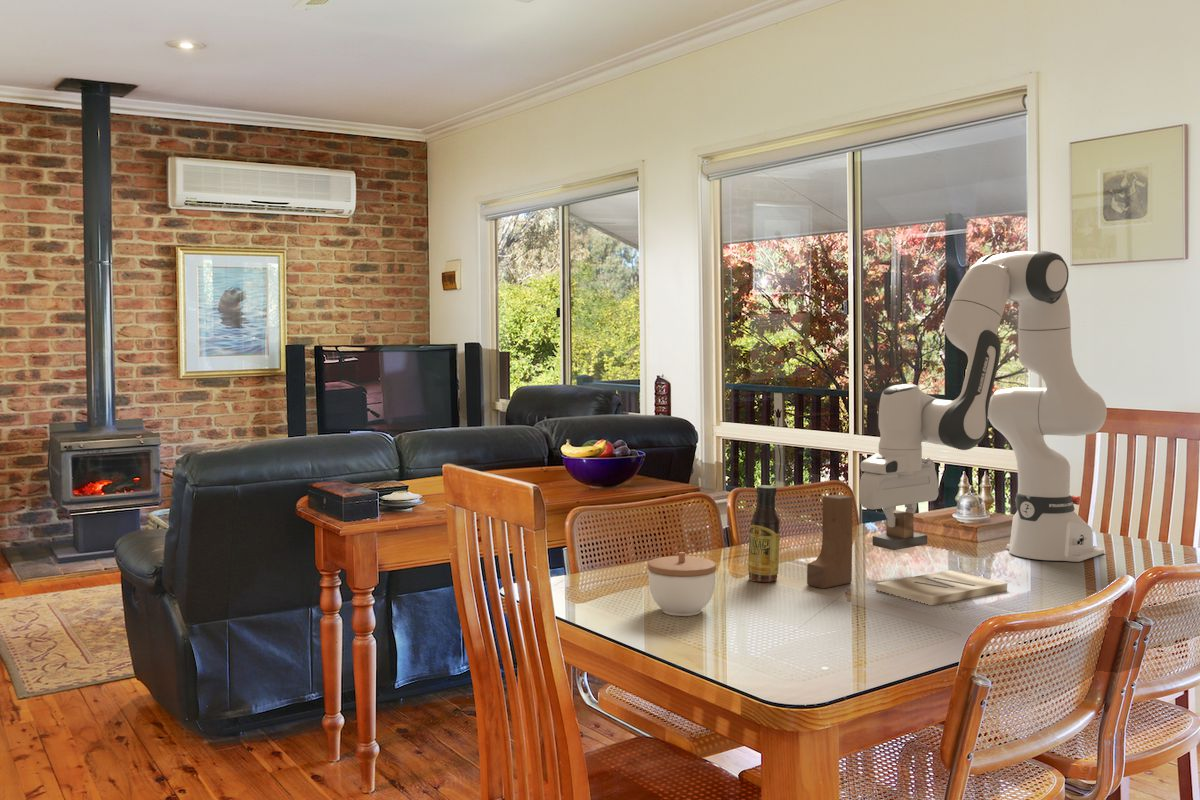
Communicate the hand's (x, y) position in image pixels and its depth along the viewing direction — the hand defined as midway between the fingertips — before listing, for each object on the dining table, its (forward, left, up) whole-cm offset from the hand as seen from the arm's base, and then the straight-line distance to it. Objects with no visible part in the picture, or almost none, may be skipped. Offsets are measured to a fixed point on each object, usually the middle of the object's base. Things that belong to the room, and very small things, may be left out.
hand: (899, 525), depth 223 cm
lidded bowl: (+57, 0, -11) cm, 58 cm away
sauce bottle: (+28, -12, -11) cm, 32 cm away
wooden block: (+19, -2, -11) cm, 21 cm away
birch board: (+4, +14, -11) cm, 18 cm away
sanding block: (0, 0, -4) cm, 4 cm away
